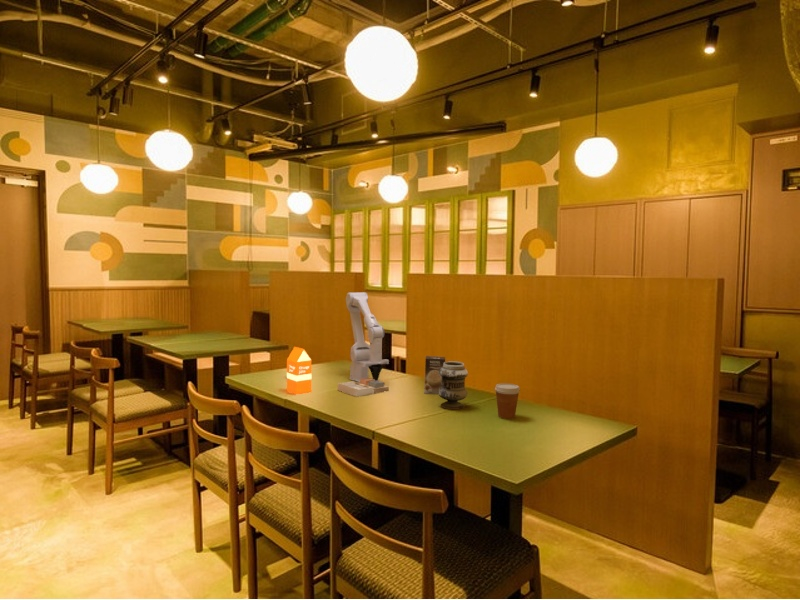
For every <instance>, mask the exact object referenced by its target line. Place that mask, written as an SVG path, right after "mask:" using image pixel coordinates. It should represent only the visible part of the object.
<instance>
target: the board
mask: <svg viewBox="0 0 800 600" xmlns="http://www.w3.org/2000/svg"><path fill="white" fill-rule="evenodd" d="M355 384H357V385H360V386H363V387H366V388H370V387H371V386H369V385H364V384H361V383H360V382H355ZM373 390H374V394H380V393H379V392H381V393H385V392H384V391H386V392H389V391H390V386H388V385H385V384H384V387H379V388H374V387H373Z"/></svg>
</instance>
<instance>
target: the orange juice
mask: <svg viewBox="0 0 800 600" xmlns="http://www.w3.org/2000/svg"><path fill="white" fill-rule="evenodd" d="M312 374H313V373H312V358H311V357H310V355H309V354H308V353H307V351H306V350H305V349H304V348H302V347H299V346H293V349H292V350H291V352H290V353H289V356H288V357H287V358H286V391H287V392H288V391H289V392H288V393H291V394H293V393H294V394H293V395H296V394H299V395H303V393H304V394H308V393H309V392H310V393H312V380H313V379H312Z"/></svg>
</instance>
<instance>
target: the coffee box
mask: <svg viewBox="0 0 800 600" xmlns="http://www.w3.org/2000/svg"><path fill="white" fill-rule="evenodd" d="M444 362H446V357H445V356H432V355H431V356H429V355H426V356H425V362H424V363H425V366H424V367H425V368H424V388H423V389H424V391H423V392H424V394H428V395H429V394H430V395H439V394H438V390H439V389H440V387H441V385H442V377H441V376H440V374H439V370H440V369H441V368H442V367H443V363H444Z"/></svg>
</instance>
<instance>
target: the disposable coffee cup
mask: <svg viewBox="0 0 800 600" xmlns="http://www.w3.org/2000/svg"><path fill="white" fill-rule="evenodd" d="M494 390H495V394H496V396H495V398H496V405H497V406H496V407H497V416H498V417H499V418H500V417H501V418H500V419H503V418H506V419H505V420H512V419H511V418H513V419H515V418H516V412H517V408H518V407H517V406H518V400H519V394H520V391H521V389H520V386H519V385H517V384H514V383H504V382H503V383H498V384H495V388H494Z"/></svg>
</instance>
